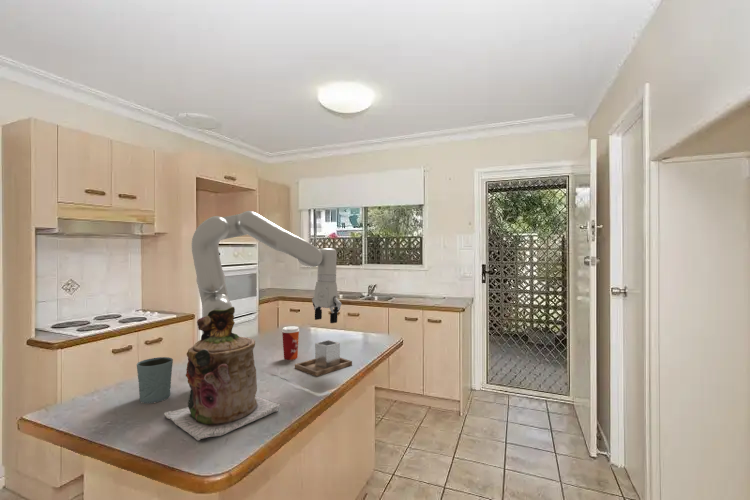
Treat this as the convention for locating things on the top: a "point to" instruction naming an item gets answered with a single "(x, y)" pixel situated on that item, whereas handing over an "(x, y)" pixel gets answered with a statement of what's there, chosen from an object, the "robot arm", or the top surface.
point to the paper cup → (290, 342)
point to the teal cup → (154, 379)
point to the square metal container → (327, 354)
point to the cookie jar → (220, 381)
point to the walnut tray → (317, 371)
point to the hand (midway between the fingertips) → (325, 321)
